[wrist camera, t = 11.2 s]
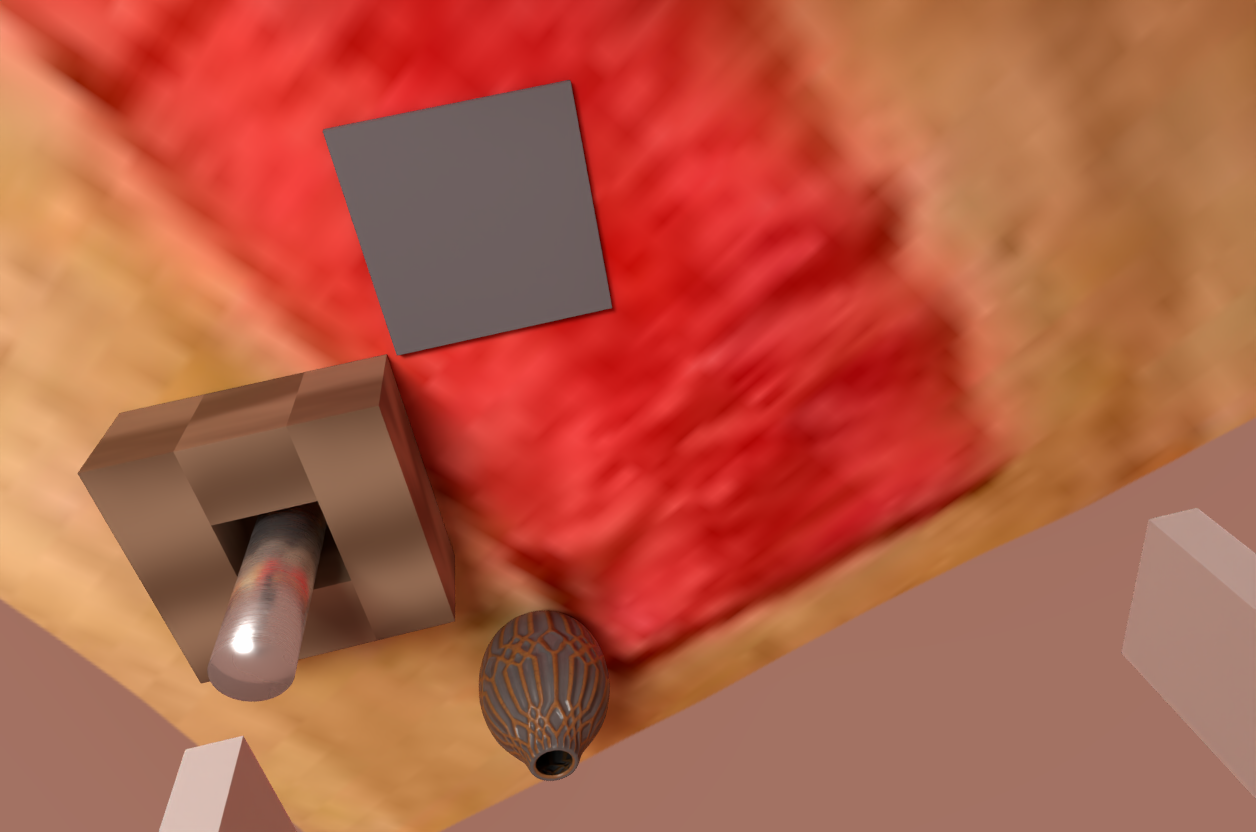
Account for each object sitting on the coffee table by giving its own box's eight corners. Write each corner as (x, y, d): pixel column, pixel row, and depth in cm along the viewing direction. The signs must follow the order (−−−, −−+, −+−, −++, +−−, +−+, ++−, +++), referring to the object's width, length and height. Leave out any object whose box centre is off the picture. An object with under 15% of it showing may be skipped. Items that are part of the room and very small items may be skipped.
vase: (519, 572, 47) (533, 695, 39) (621, 617, 50) (652, 739, 42) (454, 658, 49) (454, 790, 41) (555, 696, 52) (573, 826, 44)
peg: (258, 472, 41) (193, 652, 31) (321, 458, 41) (278, 632, 31) (280, 522, 43) (225, 709, 32) (341, 508, 43) (306, 690, 33)
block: (119, 413, 39) (77, 473, 34) (386, 354, 39) (378, 405, 35) (225, 611, 45) (201, 683, 40) (454, 556, 45) (455, 621, 41)
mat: (323, 129, 34) (322, 131, 34) (569, 79, 35) (570, 81, 35) (397, 351, 39) (397, 355, 39) (610, 304, 40) (612, 307, 40)
